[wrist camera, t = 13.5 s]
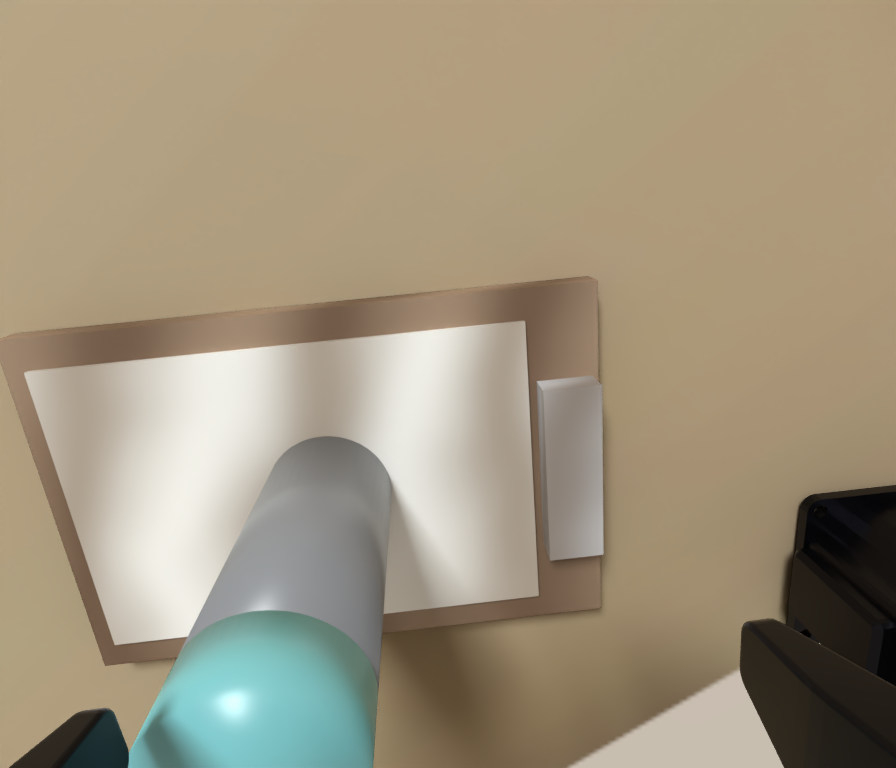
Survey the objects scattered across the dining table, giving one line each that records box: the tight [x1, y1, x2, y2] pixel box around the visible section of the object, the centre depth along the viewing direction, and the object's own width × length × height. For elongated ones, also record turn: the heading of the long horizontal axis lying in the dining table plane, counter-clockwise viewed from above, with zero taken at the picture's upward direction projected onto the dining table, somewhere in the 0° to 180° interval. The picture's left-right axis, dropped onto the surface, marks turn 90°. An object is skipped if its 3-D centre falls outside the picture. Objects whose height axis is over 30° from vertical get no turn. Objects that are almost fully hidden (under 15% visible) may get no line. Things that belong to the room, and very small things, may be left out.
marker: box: [128, 436, 392, 768], centre depth 14 cm, size 4×4×10 cm
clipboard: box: [0, 276, 603, 666], centre depth 19 cm, size 18×12×2 cm, turn 95°
